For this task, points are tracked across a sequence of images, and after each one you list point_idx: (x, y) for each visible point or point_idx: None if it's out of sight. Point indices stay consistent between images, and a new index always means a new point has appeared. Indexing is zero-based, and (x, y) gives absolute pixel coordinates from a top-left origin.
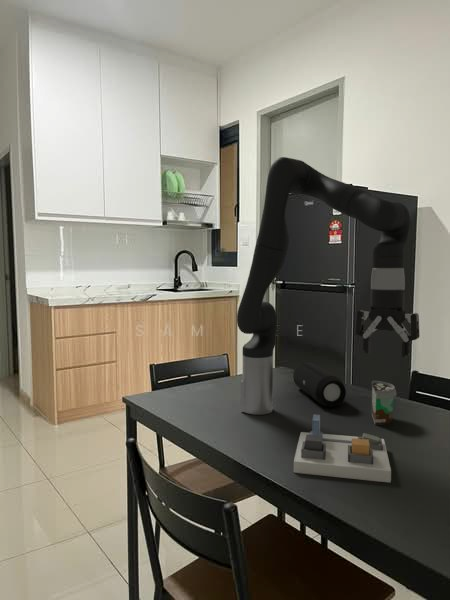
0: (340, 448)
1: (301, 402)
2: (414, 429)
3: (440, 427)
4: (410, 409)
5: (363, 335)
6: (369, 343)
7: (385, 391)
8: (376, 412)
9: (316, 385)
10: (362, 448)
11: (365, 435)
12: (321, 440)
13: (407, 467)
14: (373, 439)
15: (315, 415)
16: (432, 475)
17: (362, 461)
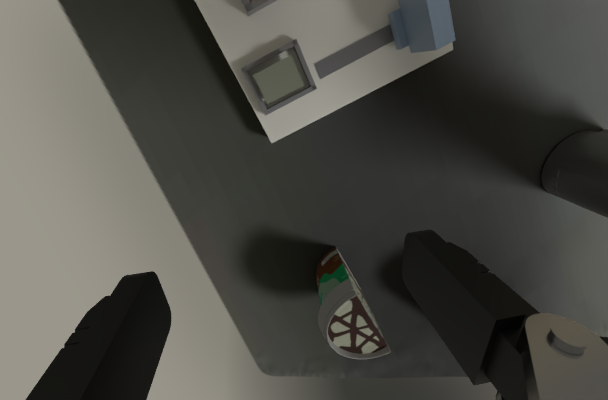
0: (329, 1)
1: (496, 260)
2: (266, 271)
3: (233, 308)
4: (311, 347)
5: (592, 339)
6: (452, 303)
7: (337, 307)
8: (340, 262)
9: None
10: None
11: (291, 72)
12: None
13: (183, 70)
14: (266, 68)
15: (447, 34)
16: (120, 63)
17: None
